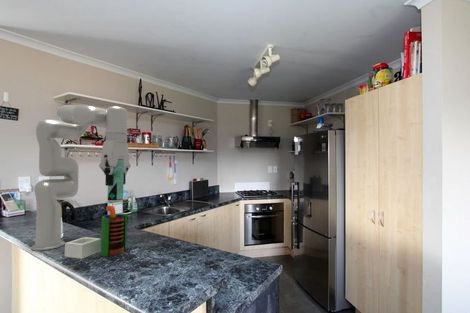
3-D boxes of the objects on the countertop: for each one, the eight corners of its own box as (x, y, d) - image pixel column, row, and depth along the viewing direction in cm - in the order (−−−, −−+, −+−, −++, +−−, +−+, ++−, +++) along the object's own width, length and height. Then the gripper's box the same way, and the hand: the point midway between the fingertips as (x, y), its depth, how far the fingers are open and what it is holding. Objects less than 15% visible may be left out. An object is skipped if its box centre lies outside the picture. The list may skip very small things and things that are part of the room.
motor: (113, 257, 100) (114, 208, 101) (95, 255, 102) (95, 207, 103) (129, 249, 110) (129, 204, 111) (111, 248, 112) (112, 204, 113)
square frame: (64, 256, 102) (64, 243, 102) (84, 249, 111) (84, 237, 111) (81, 258, 99) (82, 244, 99) (100, 251, 108) (101, 238, 108)
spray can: (116, 200, 99) (117, 150, 99) (126, 200, 96) (127, 150, 97) (104, 201, 93) (105, 149, 94) (114, 202, 91) (115, 149, 92)
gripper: (124, 141, 105) (124, 183, 105) (90, 136, 89) (89, 186, 88) (139, 140, 103) (138, 183, 102) (106, 135, 87) (105, 186, 86)
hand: (115, 184), depth 95 cm, fingers closed on spray can, 5 cm apart
